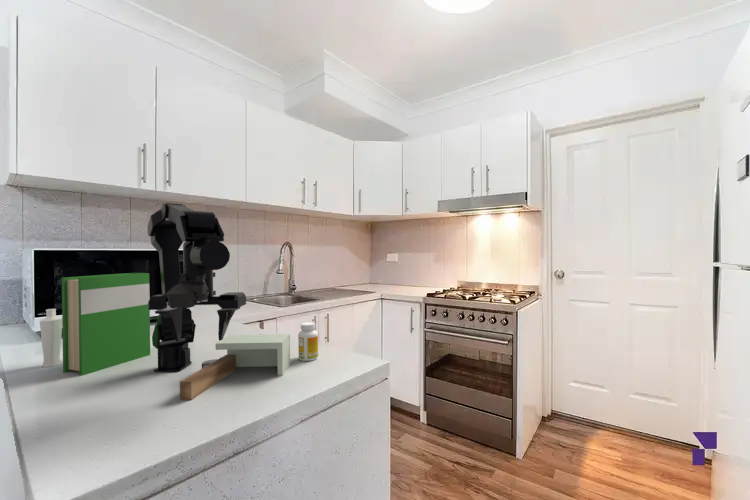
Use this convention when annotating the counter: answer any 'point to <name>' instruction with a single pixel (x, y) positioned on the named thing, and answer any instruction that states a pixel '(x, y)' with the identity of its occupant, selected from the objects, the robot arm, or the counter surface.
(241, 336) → the sage shelf
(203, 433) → the counter surface
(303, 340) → the supplement bottle
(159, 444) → the counter surface
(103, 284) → the hardback book
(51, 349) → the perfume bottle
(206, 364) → the steel puck
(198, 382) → the walnut bar
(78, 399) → the counter surface
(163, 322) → the robot arm
